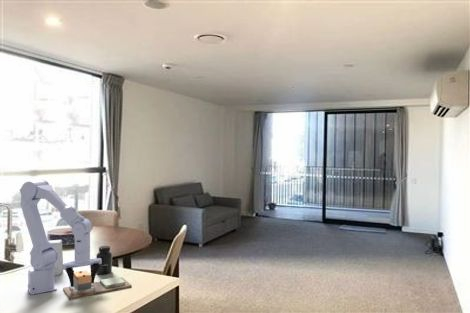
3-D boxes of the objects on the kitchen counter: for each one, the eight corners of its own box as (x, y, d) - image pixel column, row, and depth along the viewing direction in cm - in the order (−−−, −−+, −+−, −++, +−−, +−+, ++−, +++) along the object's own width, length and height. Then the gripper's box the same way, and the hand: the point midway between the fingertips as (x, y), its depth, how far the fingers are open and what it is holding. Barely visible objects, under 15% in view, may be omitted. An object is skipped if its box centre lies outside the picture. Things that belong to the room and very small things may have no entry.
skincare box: (63, 271, 177) (63, 239, 177) (60, 275, 171) (60, 242, 171) (43, 272, 175) (43, 240, 175) (40, 276, 169) (40, 243, 169)
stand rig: (69, 299, 143) (69, 294, 143) (63, 290, 153) (63, 285, 153) (131, 287, 157) (131, 282, 157) (121, 279, 166) (122, 274, 166)
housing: (77, 290, 147) (78, 277, 146) (73, 284, 153) (73, 271, 153) (91, 288, 149) (91, 274, 149) (86, 282, 156) (86, 269, 156)
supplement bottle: (102, 276, 170) (103, 249, 170) (92, 273, 174) (93, 247, 174) (115, 272, 176) (115, 246, 176) (105, 269, 180) (105, 244, 179)
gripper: (64, 255, 144) (64, 291, 144) (103, 249, 152) (103, 283, 152) (61, 251, 149) (61, 285, 150) (98, 246, 158) (98, 278, 158)
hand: (82, 284), depth 151 cm, fingers open, 7 cm apart
